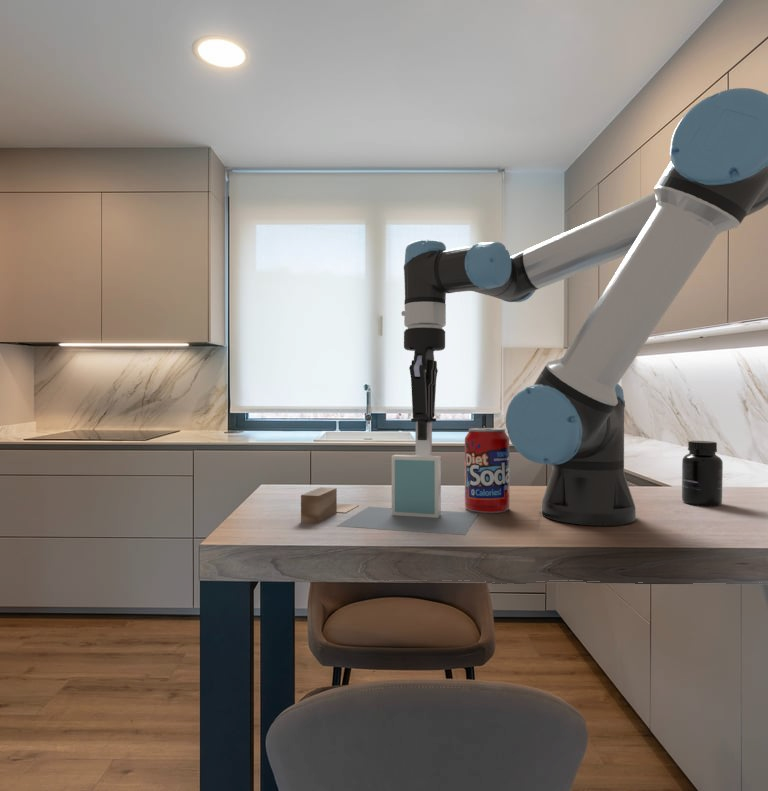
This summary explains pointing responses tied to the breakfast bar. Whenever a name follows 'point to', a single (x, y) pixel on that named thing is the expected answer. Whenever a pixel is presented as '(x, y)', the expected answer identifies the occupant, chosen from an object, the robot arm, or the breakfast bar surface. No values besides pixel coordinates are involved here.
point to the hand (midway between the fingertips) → (423, 457)
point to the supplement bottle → (702, 474)
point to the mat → (411, 521)
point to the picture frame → (416, 485)
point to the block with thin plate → (321, 505)
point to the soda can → (487, 470)
